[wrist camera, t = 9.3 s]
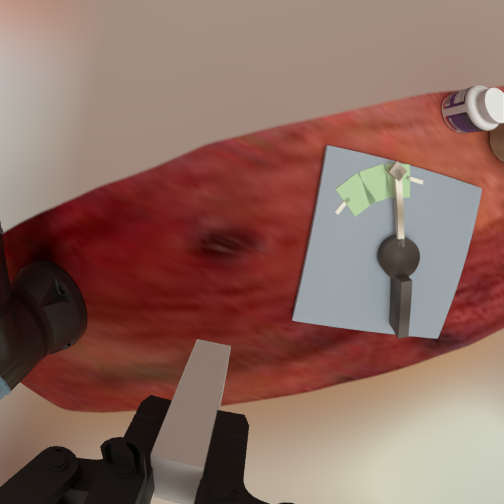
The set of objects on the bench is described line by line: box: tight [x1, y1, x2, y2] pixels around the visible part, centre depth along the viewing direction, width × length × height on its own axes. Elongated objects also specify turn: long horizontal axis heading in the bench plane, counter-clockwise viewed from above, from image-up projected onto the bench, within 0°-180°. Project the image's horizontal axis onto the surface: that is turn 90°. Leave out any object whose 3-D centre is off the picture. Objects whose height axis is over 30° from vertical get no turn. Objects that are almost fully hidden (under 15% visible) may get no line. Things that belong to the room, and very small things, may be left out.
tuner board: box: [292, 145, 482, 339], centre depth 38 cm, size 22×22×2 cm
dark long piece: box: [377, 161, 420, 338], centre depth 35 cm, size 21×5×4 cm, turn 8°
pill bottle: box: [442, 85, 504, 133], centre depth 28 cm, size 5×5×10 cm
